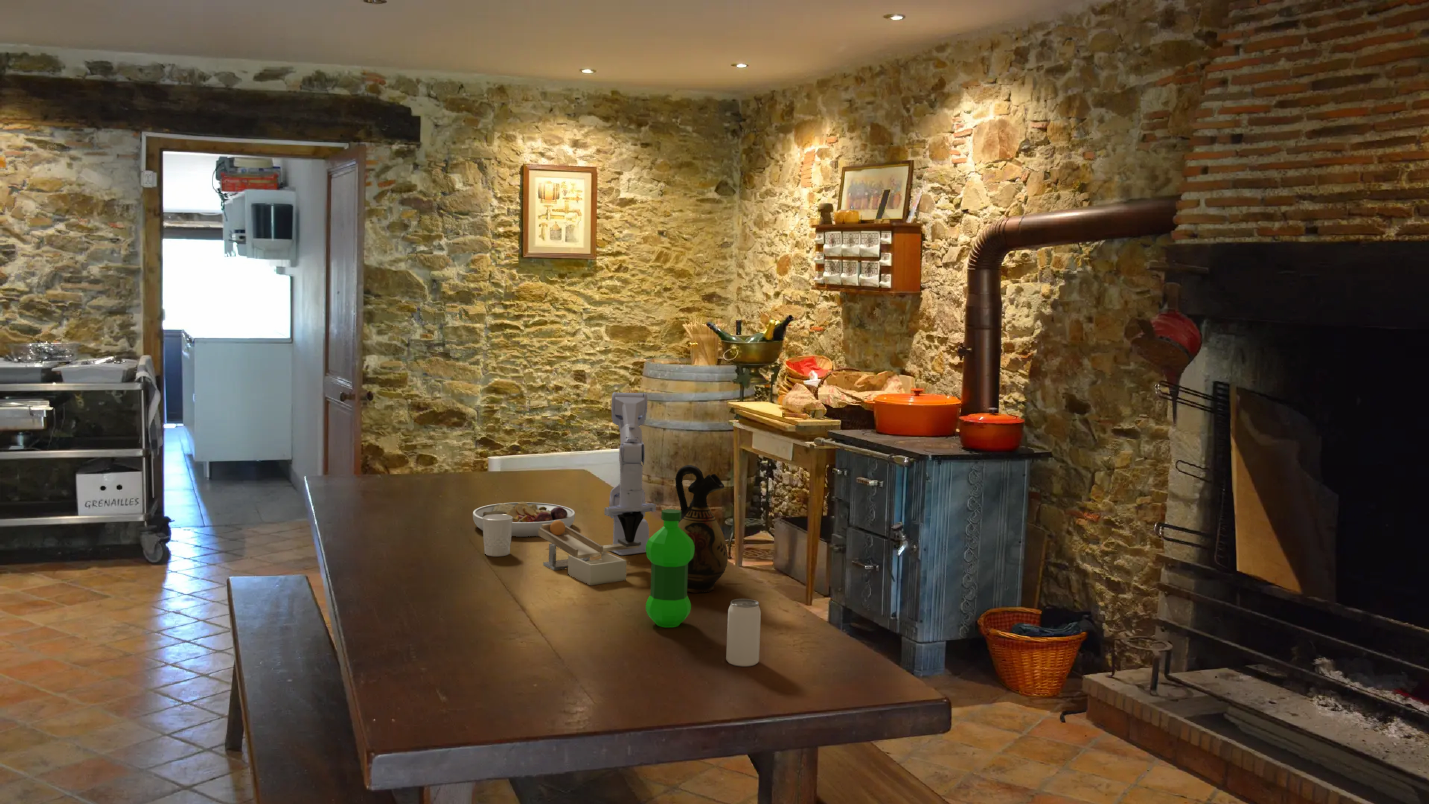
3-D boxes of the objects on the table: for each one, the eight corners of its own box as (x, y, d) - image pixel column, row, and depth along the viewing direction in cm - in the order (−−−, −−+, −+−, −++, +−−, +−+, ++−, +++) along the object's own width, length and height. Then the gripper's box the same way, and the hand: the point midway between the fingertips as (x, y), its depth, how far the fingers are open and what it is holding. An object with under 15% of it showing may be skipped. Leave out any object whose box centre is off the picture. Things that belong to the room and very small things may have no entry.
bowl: (452, 532, 326) (452, 505, 325) (508, 514, 354) (508, 489, 353) (541, 544, 315) (542, 516, 314) (592, 524, 343) (593, 499, 342)
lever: (600, 530, 308) (601, 518, 307) (641, 552, 291) (642, 539, 291) (538, 537, 297) (538, 524, 296) (577, 560, 280) (578, 547, 279)
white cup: (505, 558, 296) (505, 521, 295) (477, 555, 298) (477, 518, 297) (516, 551, 304) (517, 515, 303) (489, 549, 306) (489, 513, 305)
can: (724, 656, 224) (726, 597, 223) (756, 656, 225) (759, 598, 223) (727, 667, 218) (730, 607, 216) (760, 667, 218) (763, 607, 217)
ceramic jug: (734, 584, 279) (739, 465, 276) (714, 599, 265) (719, 474, 262) (671, 576, 285) (675, 459, 282) (648, 590, 270) (652, 468, 267)
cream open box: (602, 570, 288) (603, 551, 287) (625, 580, 279) (626, 560, 278) (567, 574, 282) (568, 555, 281) (590, 585, 273) (590, 565, 272)
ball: (560, 532, 299) (561, 517, 298) (567, 536, 296) (568, 522, 295) (546, 533, 297) (548, 519, 296) (553, 538, 294) (555, 523, 293)
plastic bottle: (674, 634, 237) (678, 518, 235) (634, 624, 243) (638, 511, 240) (700, 623, 246) (704, 511, 243) (660, 614, 251) (664, 504, 249)
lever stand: (583, 560, 298) (584, 537, 297) (595, 565, 293) (595, 542, 292) (543, 565, 290) (543, 542, 290) (554, 570, 286) (554, 547, 285)
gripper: (615, 493, 282) (613, 546, 283) (662, 489, 291) (661, 541, 292) (600, 489, 288) (599, 541, 289) (648, 485, 296) (646, 535, 298)
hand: (629, 540), depth 291 cm, fingers closed, pressing on lever
